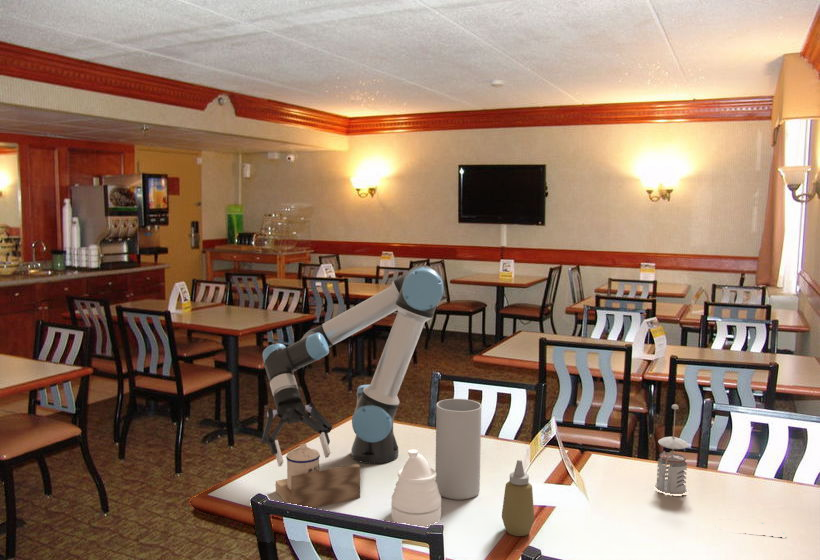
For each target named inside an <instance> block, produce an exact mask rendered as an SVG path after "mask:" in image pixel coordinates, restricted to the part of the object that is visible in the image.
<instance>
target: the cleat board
mask: <svg viewBox="0 0 820 560" xmlns="http://www.w3.org/2000/svg"><path fill="white" fill-rule="evenodd" d="M275 492H276V493H277V494H278V496H281V497H282V498H283V499H284V500H285V501H284V500H283V499H282V498H281V497H280V498H281V499H282V500H283V501H284V503H286V502H287V503H291V504H297V505H302V506H308V507H315V508H319V507H323V506H324V507H325V506H330V505H333V504H338V503H342V502H347V501H352V500H356V499H360V498H361V465H359V464H358V463H353V464H348V465H343V466H337V467H333V468H328V469H323V470H319V471H316V472H311V473H306V474H301V475H295V476H291V490H290V489H289V488H288V486H287V478H284V479H278V480H275ZM287 503H286V504H287ZM315 508H314V509H315Z"/></svg>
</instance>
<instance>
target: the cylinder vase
mask: <svg viewBox="0 0 820 560" xmlns="http://www.w3.org/2000/svg"><path fill="white" fill-rule="evenodd" d="M435 405H436V409H435V410H436V411H435V412H436V416H435V417H436V419H435V469H434V471H435V472H436V474H437V475H436V478H435V482H436V483H437V485H438V490H439V493H440V495H441V497H443V498H446V499H450V500H456V501H457V500H458V501H459V500H460V501H462V500H468V499H469V500H470V499H472V498H475V497H476V496H478V495H479V493H480V490H481V489H480V487H481V450H482V449H481V446H482V441H481V440H482V404H481V403H480V402H478V401H476V400H472V399H466V398H449V399H448V398H447V399H442V400H439V401H437V403H436V404H435Z"/></svg>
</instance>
